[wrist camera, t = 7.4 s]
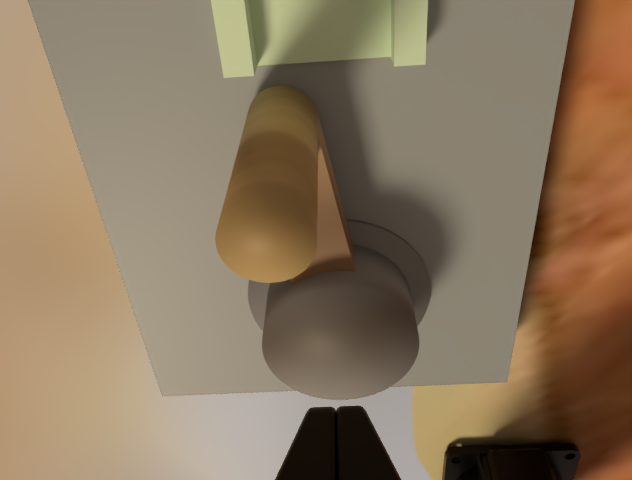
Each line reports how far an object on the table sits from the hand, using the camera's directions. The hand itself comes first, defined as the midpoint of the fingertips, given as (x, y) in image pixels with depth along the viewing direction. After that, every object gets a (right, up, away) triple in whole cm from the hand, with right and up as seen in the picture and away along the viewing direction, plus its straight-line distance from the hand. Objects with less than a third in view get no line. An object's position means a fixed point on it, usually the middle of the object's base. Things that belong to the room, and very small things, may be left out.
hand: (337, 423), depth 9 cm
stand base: (0, +4, +12) cm, 12 cm away
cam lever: (0, +3, +10) cm, 10 cm away
